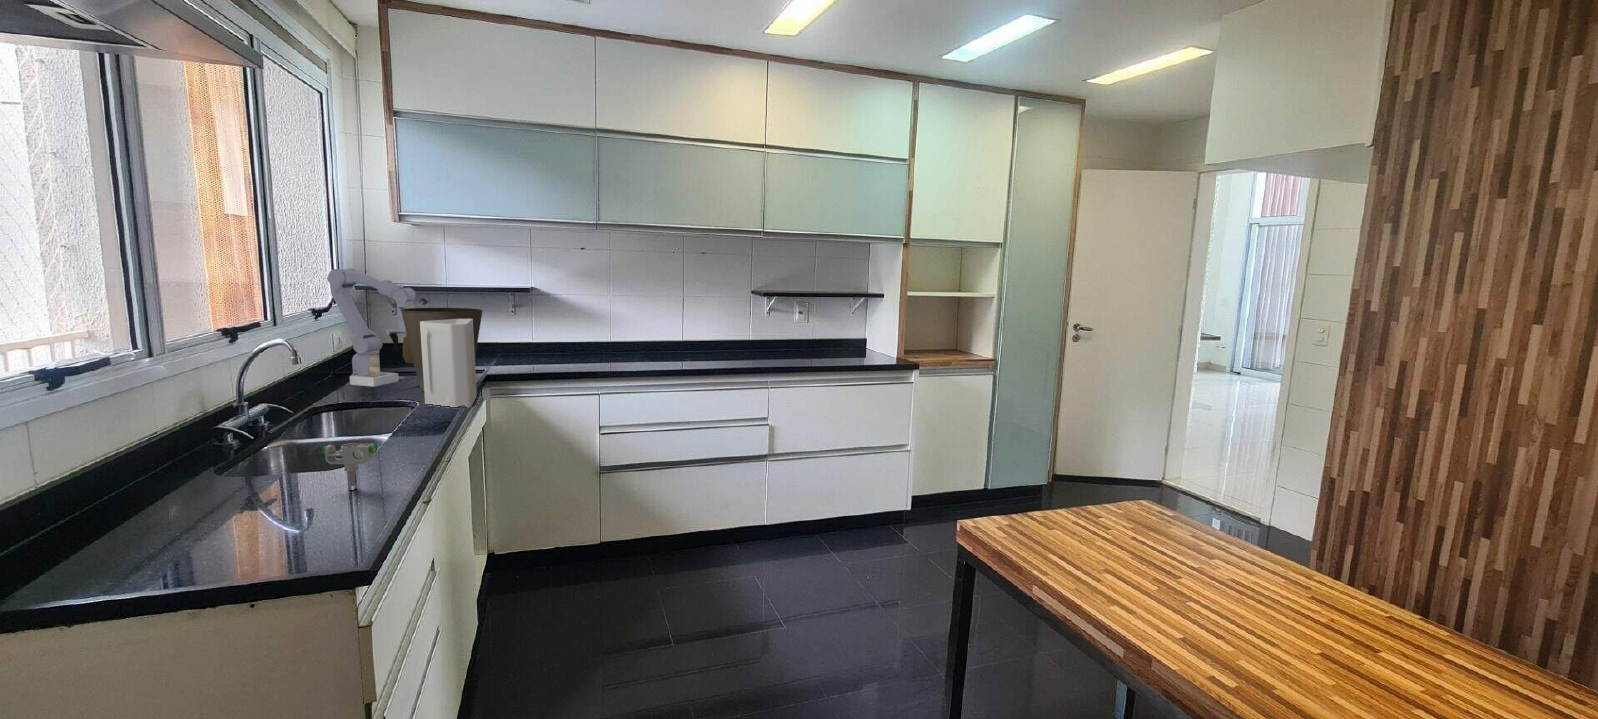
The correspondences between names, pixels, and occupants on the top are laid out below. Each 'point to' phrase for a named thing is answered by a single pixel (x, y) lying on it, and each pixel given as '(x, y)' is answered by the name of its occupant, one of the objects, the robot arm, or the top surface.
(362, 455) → the mechanical component
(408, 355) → the squeeze bottle
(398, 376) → the stud plate
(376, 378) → the tray
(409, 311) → the waste basket
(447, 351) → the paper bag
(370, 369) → the strut
